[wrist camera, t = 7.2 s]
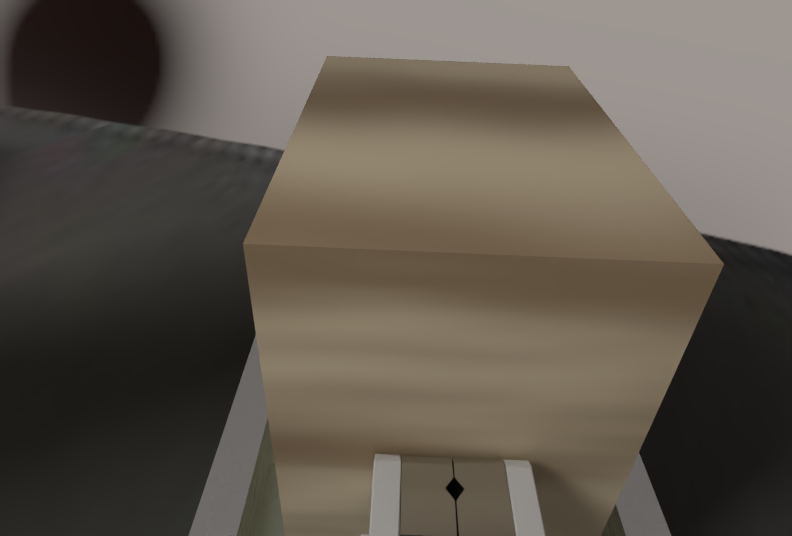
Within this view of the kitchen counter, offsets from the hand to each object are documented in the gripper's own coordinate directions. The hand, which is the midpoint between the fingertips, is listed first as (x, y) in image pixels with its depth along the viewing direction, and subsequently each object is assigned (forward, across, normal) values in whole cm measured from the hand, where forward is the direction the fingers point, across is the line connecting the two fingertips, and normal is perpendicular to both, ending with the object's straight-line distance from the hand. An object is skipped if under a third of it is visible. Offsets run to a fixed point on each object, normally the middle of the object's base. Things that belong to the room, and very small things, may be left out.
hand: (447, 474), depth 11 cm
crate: (+5, 0, +6) cm, 8 cm away
